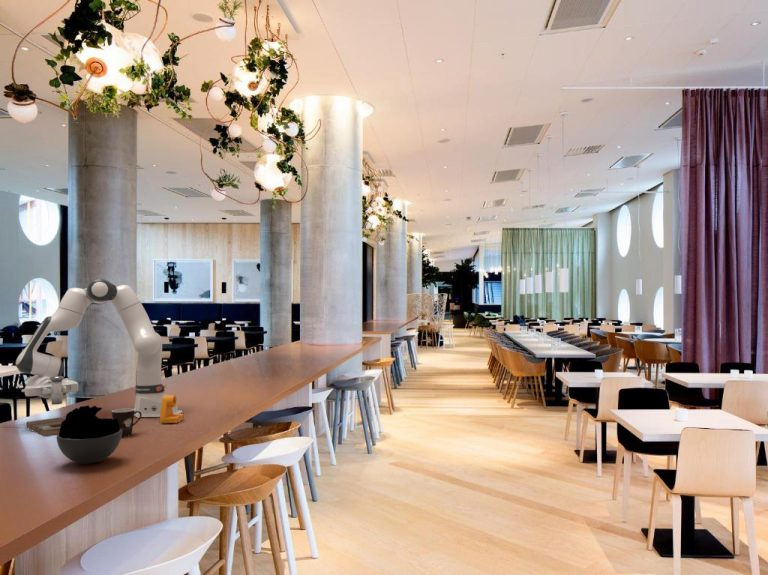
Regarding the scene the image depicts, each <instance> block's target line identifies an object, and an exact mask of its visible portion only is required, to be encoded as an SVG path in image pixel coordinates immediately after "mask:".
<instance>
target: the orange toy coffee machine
mask: <svg viewBox="0 0 768 575" xmlns="http://www.w3.org/2000/svg"><path fill="white" fill-rule="evenodd" d="M177 401H178V400H177V396H176V394H168V395H164V396H163V398H162V404H161V412H160V418H159V423H161V424H177V423H176V422H179V421H181V420H182V421H183V419H184V418H185V417H184V416H185V415H184V413H182V414H173V409H172V407H175V406H176V402H177ZM177 403H178V402H177ZM182 421H181V422H182ZM179 423H180V422H179Z"/></svg>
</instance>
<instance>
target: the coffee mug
mask: <svg viewBox="0 0 768 575" xmlns="http://www.w3.org/2000/svg"><path fill="white" fill-rule="evenodd" d="M137 412H138V413H140V417H139V418H138V419H137V420H136V421H134V418H135V416H134V414H135V413H137ZM141 416H142V414H141V412H139V411H135V409H134V408H127V407H126V408H116V409H113V410H111V417H112V418H111V419H113V420H114V419H116V418H117V420H118V422H119V426H120V429H122V436H126V437H129V436H128V435H130V436H132V435H131V434H133V428H134V426H135V425H136V424H137V423H139V421H140V420H141V419H142V418H141Z"/></svg>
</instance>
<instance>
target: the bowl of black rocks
mask: <svg viewBox="0 0 768 575" xmlns="http://www.w3.org/2000/svg"><path fill="white" fill-rule="evenodd" d="M102 409H103V407H98V406H97V405H93V406H91V407H90V405H81V406H79V407H75V408H74V409H72V410H70V411H69V412H68V413H66V415H65V418H64V419H65V420H64V421H63V422H62V423H61V428H60V431H59V434H58V435H56V442H57V446H58V449H59V450H60V452H61V453H62V454H63V455H64V456H65V457H66V458H67V459H69V460H71V461H72V462H75V463H78V464H82V465H84V464H85V465H88V464H96V463H98V462H101V461H104V460H105V459H107V458H108V457H110V456H111V455H112V454H113V453H114V452H115V451H116V450H117V448H119V445H120V443H121V440H122V438H123V437H122V429H120V426H119V422H118V420H117V418H116V419H114V420H113V419H112V418H109V417H107V418H105V417H104V418H101V417H98V416H97V414H98V412H100V411H102Z"/></svg>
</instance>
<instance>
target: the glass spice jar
mask: <svg viewBox="0 0 768 575" xmlns="http://www.w3.org/2000/svg"><path fill="white" fill-rule="evenodd" d="M64 378H65V377H64V376H63V375H61V376H54V377H50V380H51V387H52V390H53V391H52V392H53V393H52V397H51V405H54V406H55V405H63V394H62V380H64Z"/></svg>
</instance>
